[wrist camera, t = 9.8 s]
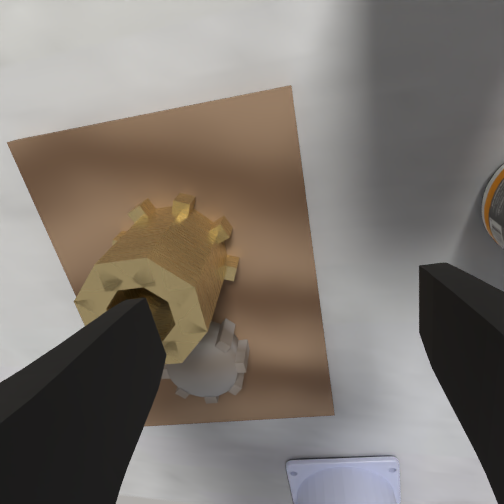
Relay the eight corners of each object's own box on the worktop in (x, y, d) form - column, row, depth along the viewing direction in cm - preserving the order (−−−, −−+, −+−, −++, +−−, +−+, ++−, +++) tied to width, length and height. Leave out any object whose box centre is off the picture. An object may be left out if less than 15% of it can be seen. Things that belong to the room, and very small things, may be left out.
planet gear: (247, 293, 21) (233, 370, 16) (143, 304, 22) (96, 380, 17) (223, 186, 19) (196, 234, 13) (106, 204, 20) (38, 257, 14)
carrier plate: (333, 405, 26) (339, 457, 22) (138, 417, 28) (117, 466, 24) (291, 85, 17) (291, 90, 14) (17, 139, 19) (-41, 155, 16)
